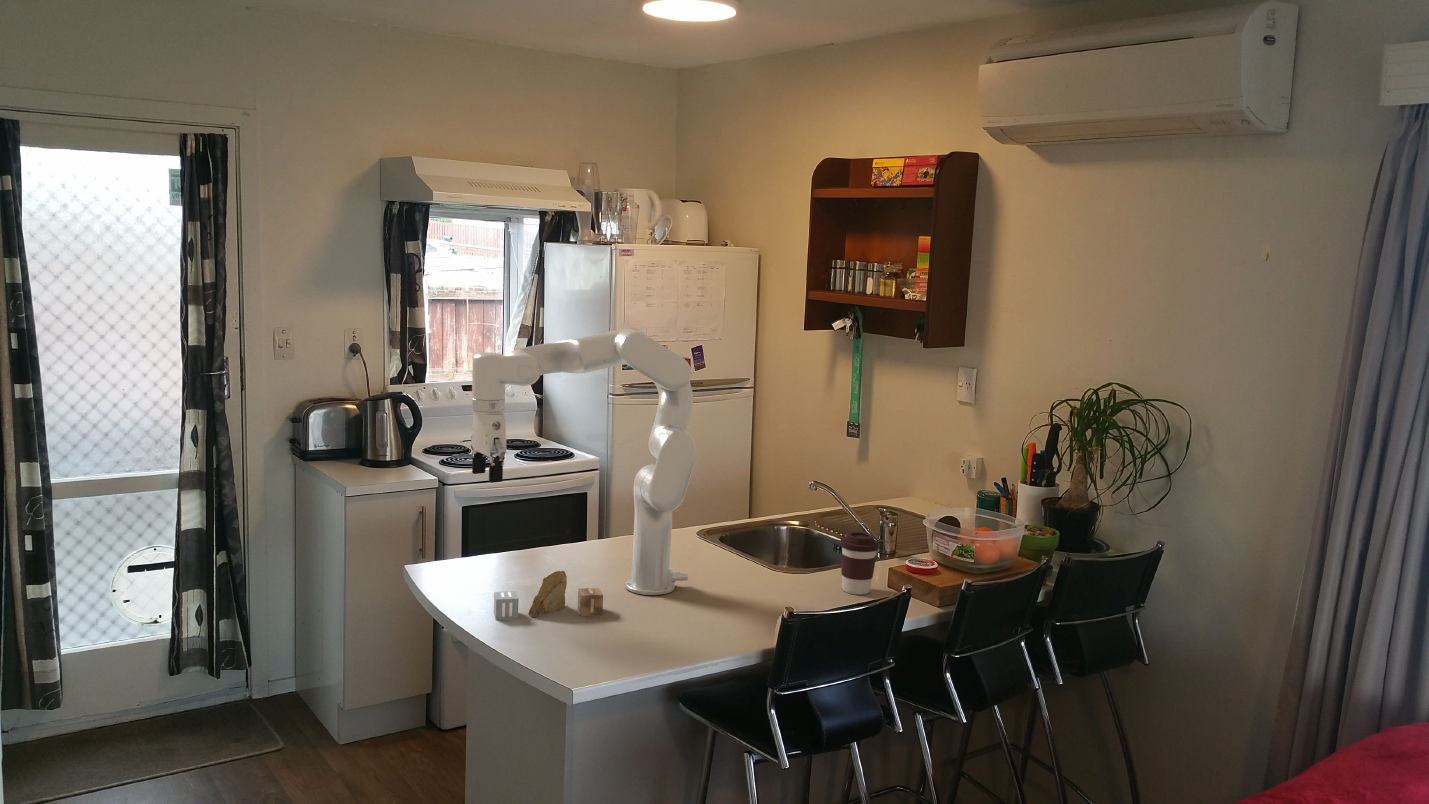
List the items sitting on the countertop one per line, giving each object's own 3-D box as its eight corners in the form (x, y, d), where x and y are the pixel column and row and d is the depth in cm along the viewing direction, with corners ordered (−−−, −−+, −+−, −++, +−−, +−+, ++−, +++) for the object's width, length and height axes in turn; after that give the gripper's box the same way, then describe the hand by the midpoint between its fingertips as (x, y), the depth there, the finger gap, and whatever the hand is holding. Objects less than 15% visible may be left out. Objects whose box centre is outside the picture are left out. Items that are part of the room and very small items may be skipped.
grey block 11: (515, 611, 241) (516, 590, 241) (518, 619, 236) (518, 598, 236) (493, 612, 240) (494, 591, 239) (495, 620, 235) (496, 599, 234)
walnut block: (598, 608, 247) (599, 587, 246) (602, 615, 242) (603, 594, 241) (577, 608, 246) (578, 588, 245) (581, 616, 241) (582, 595, 240)
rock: (533, 613, 234) (575, 602, 239) (523, 578, 237) (565, 568, 242) (525, 627, 243) (565, 616, 248) (515, 592, 246) (555, 583, 251)
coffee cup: (882, 592, 271) (887, 536, 268) (860, 599, 263) (865, 542, 261) (851, 582, 277) (855, 527, 275) (829, 589, 270) (833, 533, 268)
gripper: (519, 410, 237) (517, 483, 240) (488, 399, 251) (487, 468, 253) (488, 412, 233) (487, 487, 235) (458, 401, 247) (457, 471, 249)
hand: (487, 477), depth 244 cm, fingers open, 9 cm apart
